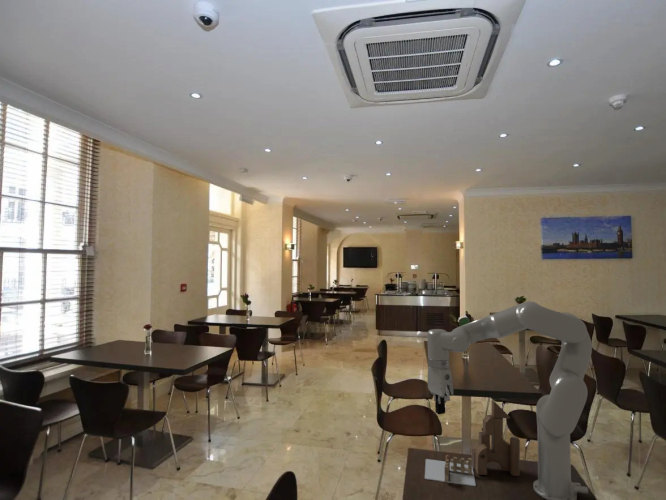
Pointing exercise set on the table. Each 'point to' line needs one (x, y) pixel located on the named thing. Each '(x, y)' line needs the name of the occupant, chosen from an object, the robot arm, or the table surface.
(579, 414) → the robot arm
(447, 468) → the beige stepped wooden piece
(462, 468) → the fence fixed
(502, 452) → the wooden toy
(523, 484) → the table surface
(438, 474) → the card
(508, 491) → the table surface
